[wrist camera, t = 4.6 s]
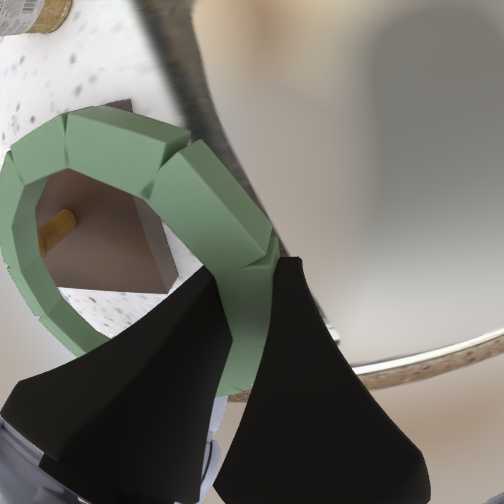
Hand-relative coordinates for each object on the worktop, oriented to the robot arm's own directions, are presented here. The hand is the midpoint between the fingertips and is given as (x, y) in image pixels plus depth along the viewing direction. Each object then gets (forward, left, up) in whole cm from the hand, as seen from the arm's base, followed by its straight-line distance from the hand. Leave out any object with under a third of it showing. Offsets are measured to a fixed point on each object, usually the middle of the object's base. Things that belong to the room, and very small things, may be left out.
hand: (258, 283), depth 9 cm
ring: (0, +6, 0) cm, 6 cm away
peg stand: (0, +17, -10) cm, 20 cm away
